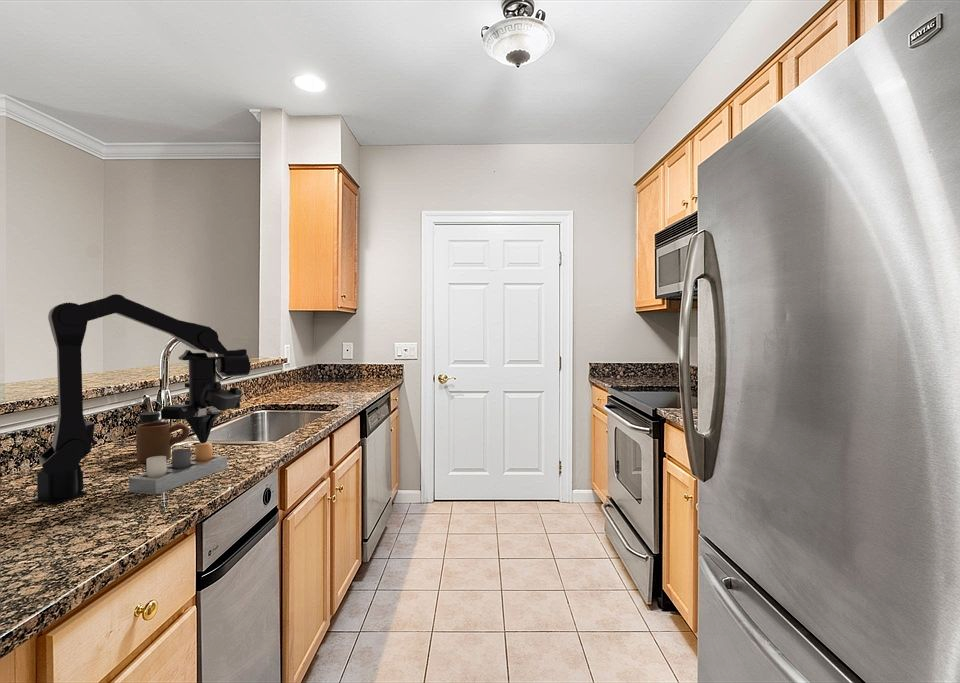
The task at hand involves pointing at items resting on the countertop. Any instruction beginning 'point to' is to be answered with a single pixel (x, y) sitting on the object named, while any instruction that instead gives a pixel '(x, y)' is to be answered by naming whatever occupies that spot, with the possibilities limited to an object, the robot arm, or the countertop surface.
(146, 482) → the button strip
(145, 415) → the pill bottle
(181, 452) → the button charcoal
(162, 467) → the button ivory
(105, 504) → the countertop surface
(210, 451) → the button orange
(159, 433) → the mug
